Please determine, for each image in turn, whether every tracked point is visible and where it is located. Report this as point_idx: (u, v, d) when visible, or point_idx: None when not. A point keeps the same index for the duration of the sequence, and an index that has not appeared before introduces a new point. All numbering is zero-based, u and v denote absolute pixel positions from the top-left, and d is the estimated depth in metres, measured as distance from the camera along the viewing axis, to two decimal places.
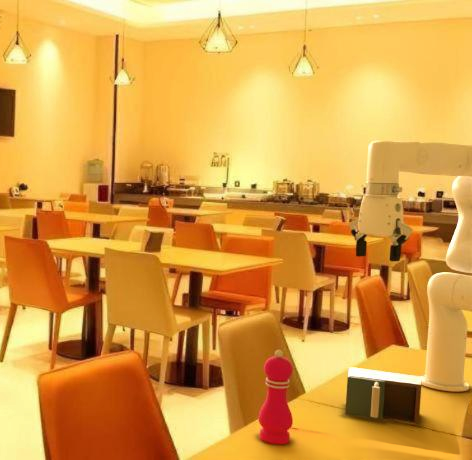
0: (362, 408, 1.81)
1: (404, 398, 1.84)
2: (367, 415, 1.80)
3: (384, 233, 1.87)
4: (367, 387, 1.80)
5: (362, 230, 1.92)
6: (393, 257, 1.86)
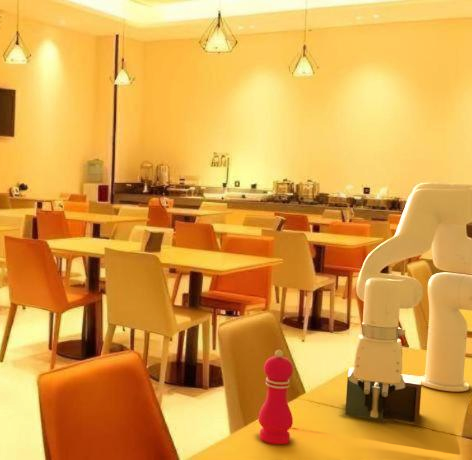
0: (362, 408, 1.81)
1: (404, 398, 1.84)
2: (367, 415, 1.80)
3: (390, 381, 1.71)
4: None
5: (360, 376, 1.74)
6: (381, 409, 1.73)
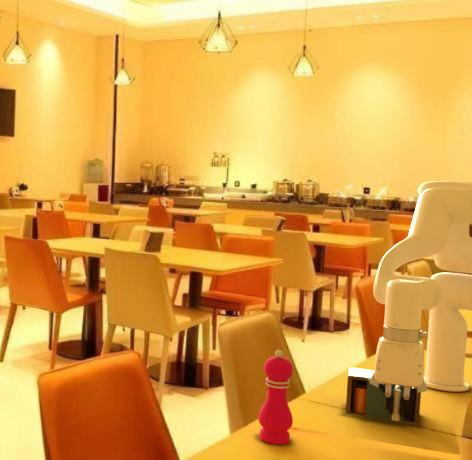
0: (382, 411, 1.79)
1: None
2: (387, 418, 1.78)
3: (412, 383, 1.69)
4: None
5: (382, 379, 1.72)
6: None
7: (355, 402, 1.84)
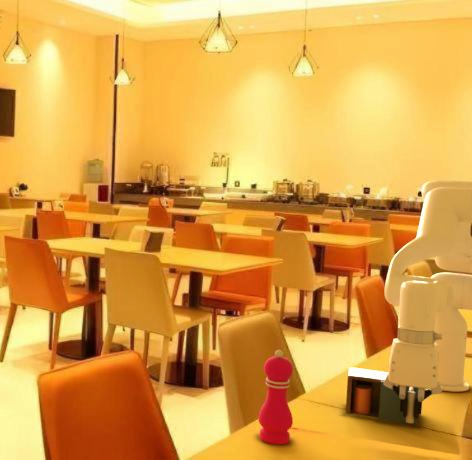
0: (396, 413, 1.77)
1: None
2: (401, 420, 1.77)
3: (427, 385, 1.68)
4: None
5: (396, 381, 1.70)
6: (417, 414, 1.70)
7: (355, 402, 1.84)
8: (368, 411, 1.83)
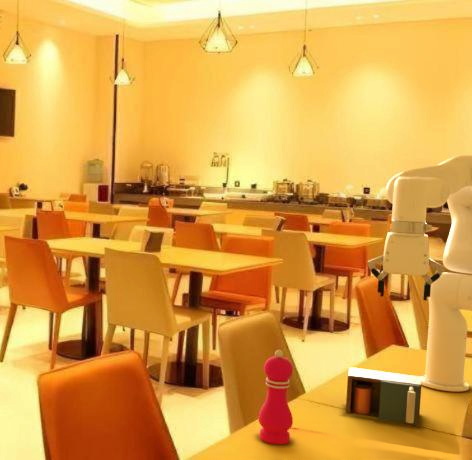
0: (396, 413, 1.77)
1: None
2: (401, 420, 1.77)
3: (418, 272, 1.83)
4: (401, 392, 1.77)
5: (390, 270, 1.85)
6: (426, 296, 1.83)
7: (355, 402, 1.84)
8: (368, 411, 1.83)
